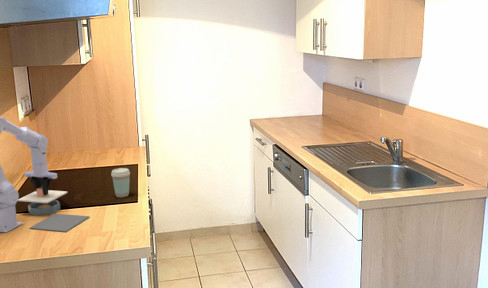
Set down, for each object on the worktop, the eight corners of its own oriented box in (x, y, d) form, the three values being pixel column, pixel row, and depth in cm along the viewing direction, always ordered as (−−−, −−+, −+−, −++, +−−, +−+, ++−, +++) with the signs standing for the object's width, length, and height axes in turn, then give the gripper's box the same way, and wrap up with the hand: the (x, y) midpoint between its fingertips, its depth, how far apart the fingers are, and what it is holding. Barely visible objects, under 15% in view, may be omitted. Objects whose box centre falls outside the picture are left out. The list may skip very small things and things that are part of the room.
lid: (47, 203, 205) (45, 193, 204) (17, 201, 208) (16, 191, 207) (67, 192, 218) (66, 183, 217) (39, 190, 221) (38, 181, 221)
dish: (48, 215, 207) (47, 210, 207) (23, 213, 210) (22, 208, 210) (65, 206, 218) (64, 200, 218) (41, 204, 221) (40, 199, 221)
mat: (66, 232, 189) (65, 231, 189) (29, 228, 193) (29, 227, 193) (89, 217, 204) (89, 216, 204) (55, 214, 208) (55, 213, 208)
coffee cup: (124, 191, 238) (122, 166, 235) (135, 194, 232) (133, 169, 230) (108, 196, 231) (106, 170, 229) (120, 199, 226) (118, 173, 223)
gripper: (60, 161, 212) (63, 192, 215) (30, 159, 216) (34, 190, 218) (49, 165, 205) (53, 197, 208) (19, 163, 209) (23, 195, 212)
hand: (42, 194), depth 213 cm, fingers closed on lid, 2 cm apart
